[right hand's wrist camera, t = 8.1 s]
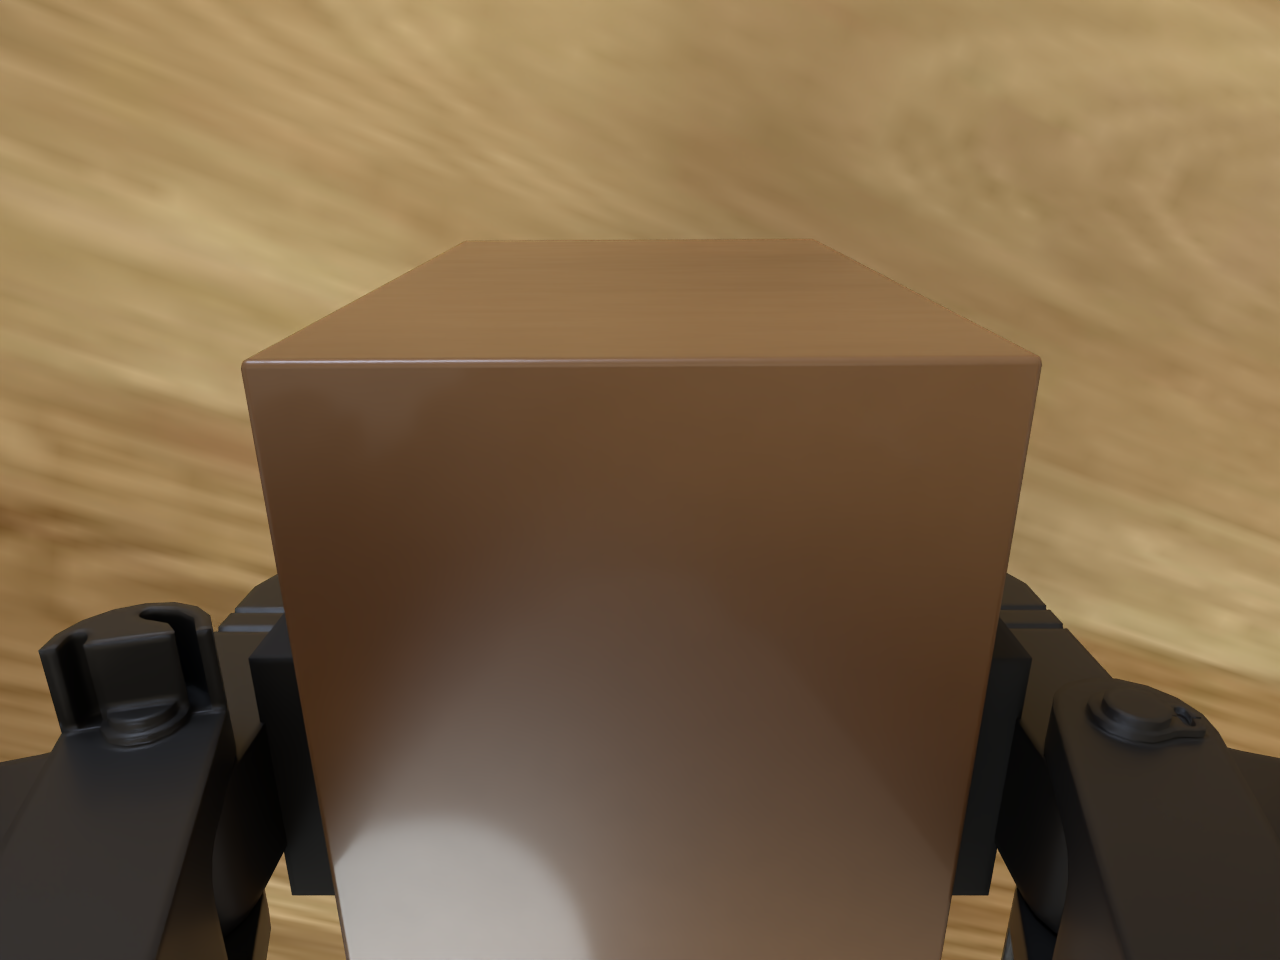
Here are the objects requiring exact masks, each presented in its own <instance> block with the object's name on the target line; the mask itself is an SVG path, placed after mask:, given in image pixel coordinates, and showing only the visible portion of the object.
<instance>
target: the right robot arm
mask: <svg viewBox="0 0 1280 960" xmlns="http://www.w3.org/2000/svg"><path fill="white" fill-rule="evenodd" d="M218 628H219V630H218V632H213V627H212V622H211V617H210V615H209V614H207V613H206V612H204V611H203V610H202V609H200V608H199V607H197V606H192V605H187V604H182V603H176V602H169V603H145V604H140V605H135V606H130V607H125V608H119V609H114V610H111V611H108V612H105V613H102V614H100V615H97V616H94V617H91V618H88V619H85V620H82V621H80V622H78V623H77V624H75V625H73V626H71V627H69V628H67V629H65V630H64V631H62V632H60V633H58V634H56V635H55V636H54V637H53V638H52V639H51V640H49V641H48V642H47V643H46V644H45V645H44V646H43V647H42V648H41V649H40V650H39V654H40V658H41V661H42V665H43V669H44V672H45V676H46V679H47V683H48V686H49V690H50V693H51V697H52V700H53V704H54V707H55V711H56V714H57V718H58V721H59V725H60V728H61V732H62V734H61V735H60V737H59V739H58V741H57V743H56V744H55V746H54V748H53V750H52V751H51V752H50V753H46V754H42V755H37V756H31V757H26V758H21V759H16V760H10V761H5V762H0V960H266V958H267V952H268V945H269V938H270V931H271V924H270V916H269V908H268V903H267V898H266V893H265V887H266V885H267V883H268V881H269V879H270V877H271V875H272V874H273V872H274V870H275V868H276V866H277V864H278V862H279V860H280V858H281V856H282V854H283V852H284V854H285V859H286V865H287V870H288V875H289V881H290V886H291V892H292V895H335V892H334V887H333V881H332V875H331V870H330V864H329V859H328V853H327V847H326V842H325V836H324V831H323V825H322V819H321V814H320V808H319V803H318V797H317V791H316V786H315V780H314V775H313V769H312V763H311V758H310V752H309V747H308V741H307V735H306V730H305V724H304V719H303V713H302V707H301V702H300V696H299V691H298V685H297V679H296V674H295V668H294V663H293V657H292V651H291V646H290V640H289V634H288V629H287V623H286V618H285V612H284V606H283V601H282V595H281V590H280V584H279V578H278V574H277V575H275V576H273V577H271V578H270V579H268V580H266V581H264V582H263V583H261V584H259V585H257V586H255V587H254V588H253V589H252V591H251V592H250V593H249V594H248V595H247V596H246V597H245V598H244V599H243V601H242V602H241V603H240V604H239V605H238V606H237V607H236V608H235V613H231V614H230V615H229V616H228V617H227V618H226V619H225V620H224V621H223V623H222V624H221V625H220V626H219V627H218ZM997 849H998V851H999V852H1000V854H1001V856H1002V858H1003V860H1004V862H1005V864H1006V866H1007V868H1008V870H1009V872H1010V874H1011V876H1012V877H1013V879H1014V881H1015V883H1016V888H1015V893H1014V898H1013V903H1012V908H1011V913H1010V918H1009V923H1008V928H1007V933H1006V938H1005V943H1004V948H1003V953H1002V958H1001V960H1280V758H1276V757H1270V756H1265V755H1260V754H1255V753H1249V752H1244V751H1239V750H1235V749H1231V748H1227V746H1226V744H1225V743H1224V741H1223V739H1222V737H1221V736H1220V734H1219V732H1218V731H1217V730H1216V729H1215V728H1214V726H1213V725H1212V724H1211V723H1210V722H1209V721H1208V720H1207V719H1206V718H1205V716H1204V715H1203V714H1202V713H1200V712H1198V711H1197V710H1195V709H1194V708H1192V707H1191V706H1189V705H1188V704H1186V703H1184V702H1183V701H1181V700H1180V699H1178V698H1176V697H1174V696H1171V695H1169V694H1166V693H1164V692H1161V691H1159V690H1156V689H1154V688H1152V687H1149V686H1146V685H1142V684H1137V683H1133V682H1129V681H1124V680H1120V679H1113V678H1112V677H1111V676H1110V675H1109V674H1108V673H1107V672H1106V671H1105V669H1104V668H1103V667H1102V666H1101V665H1100V664H1099V663H1098V662H1097V661H1096V660H1095V659H1094V657H1093V656H1092V655H1091V654H1090V653H1089V652H1088V651H1087V650H1086V649H1085V648H1084V647H1083V645H1082V644H1081V643H1080V642H1079V641H1078V640H1077V639H1076V638H1075V637H1074V636H1073V635H1072V633H1071V632H1070V631H1069V630H1068V629H1063V624H1062V622H1061V621H1060V620H1059V619H1058V618H1057V617H1056V616H1055V615H1054V614H1053V613H1052V612H1051V610H1046V605H1045V604H1044V603H1043V602H1042V601H1041V600H1040V598H1039V597H1038V596H1037V595H1036V594H1035V593H1034V592H1033V591H1032V590H1031V589H1030V588H1029V586H1028V585H1027V584H1026V583H1024V582H1022V581H1020V580H1018V579H1017V578H1015V577H1013V576H1011V575H1010V574H1008V573H1006V579H1005V585H1004V591H1003V597H1002V602H1001V608H1000V614H999V620H998V626H997V632H996V638H995V644H994V650H993V656H992V661H991V667H990V673H989V679H988V685H987V691H986V697H985V703H984V709H983V715H982V720H981V726H980V732H979V738H978V744H977V750H976V756H975V762H974V768H973V774H972V779H971V785H970V791H969V797H968V803H967V809H966V815H965V821H964V827H963V833H962V838H961V844H960V850H959V856H958V862H957V868H956V874H955V880H954V886H953V892H952V895H989V889H990V884H991V878H992V873H993V868H994V862H995V857H996V852H997Z"/></svg>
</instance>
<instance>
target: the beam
mask: <svg viewBox="0 0 1280 960" xmlns="http://www.w3.org/2000/svg"><path fill="white" fill-rule="evenodd" d="M1041 367H1042V363H1041V358H1040V357H1039V356H1037V355H1035V354H1033V353H1031V352H1029V351H1028V350H1026V349H1024V348H1022V347H1020V346H1018V345H1016V344H1014V343H1012V342H1010V341H1008V340H1006V339H1004V338H1003V337H1001V336H999V335H997V334H995V333H993V332H991V331H989V330H987V329H985V328H983V327H981V326H979V325H978V324H976V323H974V322H972V321H970V320H968V319H966V318H964V317H962V316H960V315H958V314H956V313H954V312H953V311H951V310H949V309H947V308H945V307H943V306H941V305H939V304H937V303H935V302H933V301H931V300H929V299H928V298H926V297H924V296H922V295H920V294H918V293H916V292H914V291H912V290H910V289H908V288H906V287H904V286H902V285H901V284H899V283H897V282H895V281H893V280H891V279H889V278H887V277H885V276H883V275H881V274H879V273H877V272H876V271H874V270H872V269H870V268H868V267H866V266H864V265H862V264H860V263H858V262H856V261H854V260H852V259H851V258H849V257H847V256H845V255H843V254H841V253H839V252H837V251H835V250H833V249H831V248H829V247H827V246H826V245H824V244H822V243H820V242H818V241H816V240H814V239H727V240H536V241H465V242H462V243H461V244H459V245H457V246H455V247H453V248H451V249H450V250H448V251H446V252H444V253H442V254H440V255H438V256H437V257H435V258H433V259H431V260H429V261H427V262H425V263H424V264H422V265H420V266H418V267H416V268H414V269H413V270H411V271H409V272H407V273H405V274H403V275H401V276H400V277H398V278H396V279H394V280H392V281H390V282H388V283H387V284H385V285H383V286H381V287H379V288H377V289H376V290H374V291H372V292H370V293H368V294H366V295H364V296H363V297H361V298H359V299H357V300H355V301H353V302H351V303H350V304H348V305H346V306H344V307H342V308H340V309H339V310H337V311H335V312H333V313H331V314H329V315H327V316H326V317H324V318H322V319H320V320H318V321H316V322H314V323H313V324H311V325H309V326H307V327H305V328H303V329H302V330H300V331H298V332H296V333H294V334H292V335H290V336H289V337H287V338H285V339H283V340H281V341H279V342H278V343H276V344H274V345H272V346H270V347H268V348H266V349H265V350H263V351H261V352H259V353H257V354H255V355H253V356H252V357H250V358H248V359H246V360H244V361H243V362H242V366H241V371H242V377H243V382H244V388H245V394H246V399H247V405H248V410H249V416H250V422H251V427H252V433H253V438H254V444H255V450H256V455H257V461H258V466H259V472H260V478H261V483H262V489H263V494H264V500H265V506H266V511H267V517H268V522H269V528H270V534H271V539H272V545H273V550H274V556H275V562H276V567H277V573H278V578H279V584H280V590H281V595H282V601H283V606H284V612H285V618H286V623H287V629H288V634H289V640H290V646H291V651H292V657H293V663H294V668H295V674H296V679H297V685H298V691H299V696H300V702H301V707H302V713H303V719H304V724H305V730H306V735H307V741H308V747H309V752H310V758H311V763H312V769H313V775H314V780H315V786H316V791H317V797H318V803H319V808H320V814H321V819H322V825H323V831H324V836H325V842H326V847H327V853H328V859H329V864H330V870H331V875H332V881H333V887H334V892H335V898H336V903H337V909H338V915H339V920H340V926H341V932H342V937H343V943H344V948H345V954H346V960H941V956H942V950H943V945H944V939H945V933H946V927H947V921H948V915H949V909H950V903H951V897H952V892H953V886H954V880H955V874H956V868H957V862H958V856H959V850H960V844H961V838H962V833H963V827H964V821H965V815H966V809H967V803H968V797H969V791H970V785H971V779H972V774H973V768H974V762H975V756H976V750H977V744H978V738H979V732H980V726H981V720H982V715H983V709H984V703H985V697H986V691H987V685H988V679H989V673H990V667H991V661H992V656H993V650H994V644H995V638H996V632H997V626H998V620H999V614H1000V608H1001V602H1002V597H1003V591H1004V585H1005V579H1006V573H1007V567H1008V561H1009V555H1010V549H1011V543H1012V538H1013V532H1014V526H1015V520H1016V514H1017V508H1018V502H1019V496H1020V490H1021V485H1022V479H1023V473H1024V467H1025V461H1026V455H1027V449H1028V443H1029V437H1030V431H1031V426H1032V420H1033V414H1034V408H1035V402H1036V396H1037V390H1038V384H1039V378H1040V372H1041Z"/></svg>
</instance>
